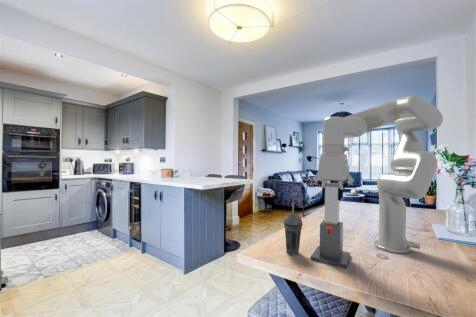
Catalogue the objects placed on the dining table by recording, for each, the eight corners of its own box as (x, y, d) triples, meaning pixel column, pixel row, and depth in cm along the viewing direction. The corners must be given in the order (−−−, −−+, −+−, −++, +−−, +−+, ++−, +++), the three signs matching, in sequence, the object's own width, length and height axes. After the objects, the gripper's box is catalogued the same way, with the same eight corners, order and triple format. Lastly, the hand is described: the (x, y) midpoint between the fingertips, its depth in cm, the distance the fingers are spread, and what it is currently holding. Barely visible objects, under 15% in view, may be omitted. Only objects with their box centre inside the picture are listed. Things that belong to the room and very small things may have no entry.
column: (338, 237, 88) (339, 183, 87) (336, 241, 84) (338, 184, 83) (326, 235, 90) (327, 182, 90) (323, 238, 86) (325, 183, 86)
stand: (350, 255, 89) (351, 222, 89) (346, 268, 79) (347, 230, 78) (318, 248, 95) (318, 217, 95) (310, 259, 85) (311, 224, 85)
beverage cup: (302, 250, 93) (303, 200, 93) (301, 257, 87) (302, 204, 86) (284, 247, 96) (285, 199, 96) (281, 254, 89) (282, 202, 89)
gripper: (359, 150, 85) (358, 200, 85) (312, 150, 94) (311, 195, 94) (357, 150, 79) (356, 203, 79) (307, 150, 88) (306, 198, 88)
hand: (332, 198), depth 87 cm, fingers closed on column, 4 cm apart
